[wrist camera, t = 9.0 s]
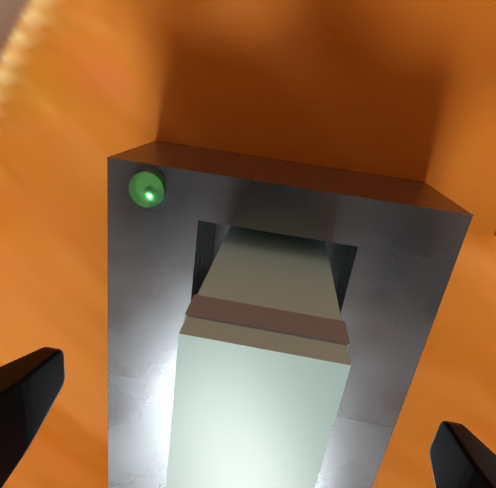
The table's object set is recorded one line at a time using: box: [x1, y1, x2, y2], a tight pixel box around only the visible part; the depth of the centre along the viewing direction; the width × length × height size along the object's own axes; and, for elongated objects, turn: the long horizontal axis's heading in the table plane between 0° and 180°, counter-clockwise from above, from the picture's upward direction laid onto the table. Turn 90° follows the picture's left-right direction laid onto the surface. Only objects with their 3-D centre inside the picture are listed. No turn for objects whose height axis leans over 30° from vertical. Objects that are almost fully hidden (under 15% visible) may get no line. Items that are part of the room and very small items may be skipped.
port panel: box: [108, 141, 473, 488], centre depth 15 cm, size 10×18×5 cm, turn 172°
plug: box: [166, 226, 351, 488], centre depth 12 cm, size 3×5×8 cm
